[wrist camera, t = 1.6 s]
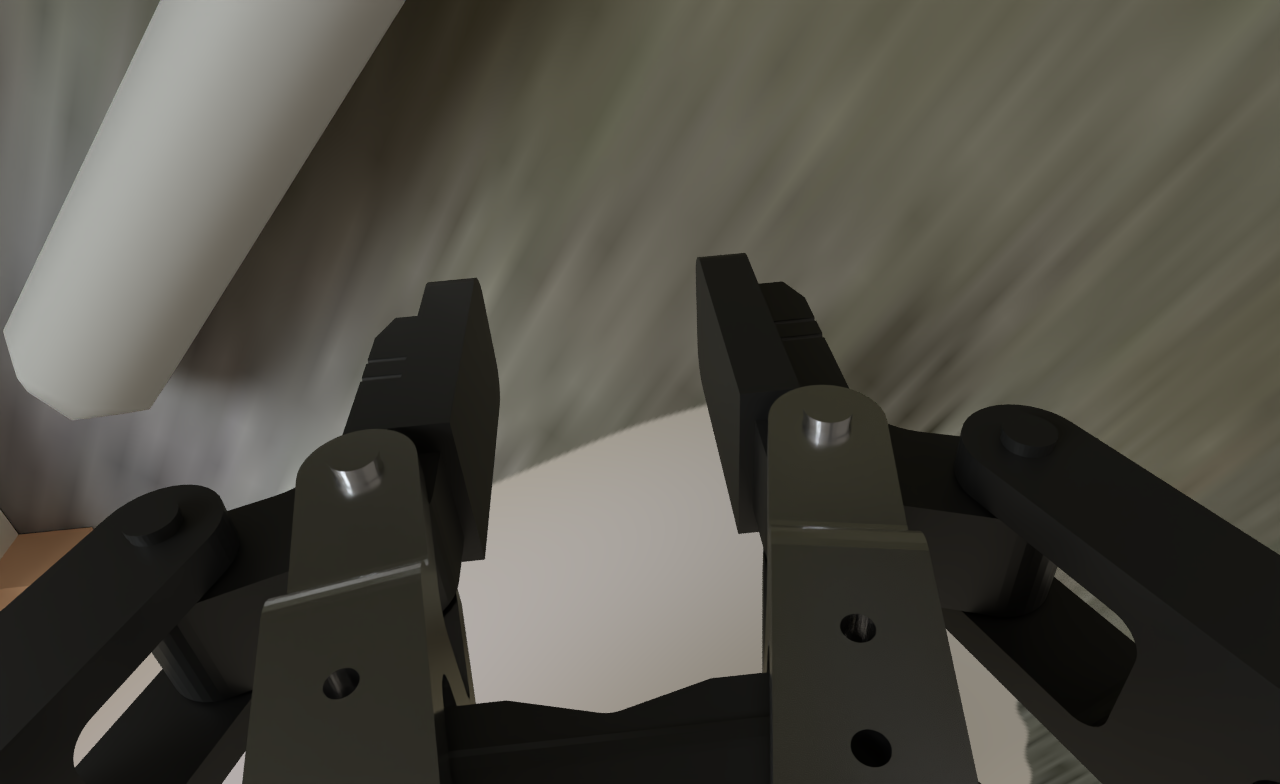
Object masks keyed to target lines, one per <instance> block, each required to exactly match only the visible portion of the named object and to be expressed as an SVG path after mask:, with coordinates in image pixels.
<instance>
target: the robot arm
mask: <svg viewBox="0 0 1280 784" xmlns="http://www.w3.org/2000/svg"><path fill="white" fill-rule="evenodd" d="M696 300H697V339H698V358H699V368H700V375H701V381H702V386H703V390H704V394H705V398H706V402H707V407H708V411H709V415H710V419H711V423H712V427H713V431H714V435H715V440H716V443H717V447H718V452H719V456H720V460H721V464H722V468H723V472H724V476H725V480H726V485H727V489H728V493H729V497H730V501H731V505H732V509H733V514H734V518H735V522H736V526H737V530H738V533H739V534H741V533H751V532H759V533H760V537H761V541H762V544H763V572H762V575H763V576H762V577H763V578H762V579H763V581H762V582H763V583H762V584H763V585H762V586H763V587H762V593H763V594H762V673H757V674H748V675H738V676H730V677H720V678H712V679H708V680H705V681H703V682H700V683H697V684H694V685H691V686H689V687H686V688H683V689H680V690H677V691H674V692H672V693H669V694H666V695H663V696H660V697H658V698H655V699H652V700H649V701H646V702H644V703H641V704H638V705H636V706H632V707H630V708H627V709H624V710H621V711H618V712H614V713H596V712H589V711H581V710H574V709H566V708H559V707H551V706H544V705H536V704H528V703H521V702H513V701H499V702H489V703H480V704H476V702H475V694H474V687H473V680H472V673H471V666H470V659H469V652H468V646H467V638H466V631H465V624H464V616H463V609H462V603H461V599H460V596H459V592H458V589H457V588H458V584H459V577H460V569H461V562H465V561H475V560H484V559H485V552H486V541H487V530H488V520H489V510H490V500H491V490H492V479H493V469H494V459H495V448H496V438H497V427H498V417H499V407H500V388H499V377H498V369H497V364H496V358H495V353H494V349H493V344H492V339H491V334H490V329H489V324H488V319H487V314H486V309H485V304H484V299H483V294H482V290H481V286H480V283H479V281H478V279H477V278H470V279H459V280H448V281H438V282H428V283H427V284H426V287H425V290H424V294H423V298H422V302H421V305H420V309H419V313H418V316H412V317H402V318H395V319H394V320H393V321H392V322H391V323H390V324H389V325H388V326H387V327H386V328H385V329H384V330H383V331H382V332H381V333H380V334H379V335H378V336H377V337H376V338H375V340H374V343H373V346H372V349H371V352H370V355H369V358H368V364H366V367H365V370H364V373H363V376H362V382H360V385H359V388H358V391H357V394H356V397H355V400H354V403H353V405H352V408H351V411H350V414H349V417H348V420H347V423H346V426H345V429H344V432H343V435H342V436H339V437H337V438H335V439H333V440H331V441H329V442H327V443H325V444H324V445H322V446H320V447H319V448H318V449H316V450H315V451H314V452H313V453H312V454H311V455H310V456H309V457H308V458H307V459H306V460H305V461H304V462H303V464H302V465H301V467H300V469H299V471H298V473H297V478H296V487H295V488H293V489H291V490H289V491H287V492H285V493H282V494H279V495H276V496H274V497H270V498H267V499H264V500H261V501H258V502H255V503H252V504H248V505H245V506H242V507H239V508H236V509H233V510H230V511H227V510H226V508H225V506H224V504H223V502H222V500H221V498H220V496H219V495H218V494H217V493H216V492H215V491H213V490H211V489H209V488H206V487H203V486H198V485H178V486H171V487H167V488H162V489H159V490H156V491H153V492H150V493H147V494H145V495H142V496H140V497H138V498H136V499H134V500H132V501H130V502H128V503H127V504H125V505H123V506H122V507H120V508H119V509H117V510H116V511H115V512H113V513H112V514H111V515H110V516H108V517H107V518H106V519H105V520H104V521H103V522H101V523H100V524H99V525H98V526H97V527H96V528H95V529H93V530H92V531H91V532H90V533H89V534H88V535H87V536H86V537H84V538H83V539H82V540H81V541H80V542H79V543H78V544H76V545H75V546H74V547H73V548H72V549H71V550H70V551H68V552H67V553H66V554H65V555H64V556H63V557H62V558H60V559H59V560H58V561H57V562H56V563H55V564H54V565H53V566H51V567H50V568H49V569H48V570H47V571H46V572H45V573H43V574H42V575H41V576H40V577H39V578H38V579H37V580H35V581H34V582H33V583H32V584H31V585H30V586H29V587H27V588H26V589H25V590H24V591H23V592H22V593H21V594H20V595H18V596H17V597H16V598H15V599H14V600H13V601H12V602H10V603H9V604H8V605H7V606H6V607H5V608H4V609H2V610H1V611H0V784H222V783H223V781H224V780H225V778H226V777H227V776H228V774H229V773H230V772H231V770H232V769H233V767H234V766H235V765H236V763H237V762H238V761H239V759H240V757H241V756H242V755H243V754H244V752H245V751H246V754H245V763H244V772H243V781H242V784H981V783H980V782H978V778H977V774H976V769H975V764H974V759H973V755H972V750H971V745H970V741H969V736H968V731H967V726H966V722H965V717H964V712H963V708H962V703H961V698H960V694H959V689H958V685H957V680H956V675H955V671H954V666H953V661H952V656H951V652H950V646H949V642H948V637H947V632H946V629H947V630H948V631H949V632H950V633H951V634H952V635H953V636H954V637H955V638H956V639H957V640H958V641H959V642H960V643H961V644H962V645H963V646H964V647H965V648H966V649H967V650H968V651H969V652H970V653H971V654H972V655H973V656H974V657H975V658H976V659H977V660H978V661H979V662H980V663H981V664H982V665H983V666H984V667H985V668H986V669H987V670H988V671H989V672H990V673H991V674H992V675H993V676H994V677H995V678H996V679H997V680H998V681H999V682H1000V683H1001V684H1002V685H1003V686H1004V687H1005V688H1007V690H1008V691H1009V692H1010V693H1011V694H1012V695H1013V696H1014V697H1015V698H1016V699H1017V700H1018V701H1019V702H1020V703H1021V704H1022V705H1023V706H1024V707H1025V708H1026V709H1027V710H1028V711H1030V712H1031V713H1032V714H1033V715H1034V716H1035V717H1036V718H1037V719H1038V720H1039V721H1040V722H1041V723H1042V724H1043V725H1044V726H1045V727H1046V728H1047V729H1048V730H1049V731H1050V732H1051V733H1052V734H1053V735H1054V736H1055V737H1056V738H1057V739H1058V740H1059V741H1060V742H1061V743H1062V744H1063V745H1064V746H1065V747H1066V748H1067V749H1068V750H1069V751H1070V752H1071V753H1072V754H1073V755H1074V756H1075V757H1076V758H1077V759H1078V760H1079V761H1080V762H1081V763H1082V764H1083V765H1084V766H1085V767H1086V768H1087V769H1088V770H1089V771H1090V772H1091V773H1092V774H1093V775H1094V776H1095V777H1096V778H1097V779H1098V780H1099V781H1100V782H1101V783H1102V784H1280V555H1279V554H1277V553H1276V552H1274V551H1272V550H1271V549H1269V548H1268V547H1266V546H1265V545H1263V544H1262V543H1260V542H1258V541H1257V540H1255V539H1254V538H1252V537H1251V536H1249V535H1247V534H1246V533H1244V532H1243V531H1241V530H1240V529H1238V528H1236V527H1235V526H1233V525H1232V524H1230V523H1229V522H1227V521H1225V520H1224V519H1222V518H1221V517H1219V516H1218V515H1216V514H1214V513H1213V512H1211V511H1210V510H1208V509H1207V508H1205V507H1204V506H1202V505H1200V504H1199V503H1197V502H1196V501H1194V500H1193V499H1191V498H1189V497H1188V496H1186V495H1185V494H1183V493H1182V492H1180V491H1178V490H1177V489H1175V488H1174V487H1172V486H1171V485H1169V484H1167V483H1166V482H1164V481H1163V480H1161V479H1160V478H1158V477H1157V476H1155V475H1153V474H1152V473H1150V472H1149V471H1147V470H1146V469H1144V468H1142V467H1141V466H1139V465H1138V464H1136V463H1135V462H1133V461H1131V460H1130V459H1128V458H1127V457H1125V456H1124V455H1122V454H1120V453H1119V452H1117V451H1116V450H1114V449H1113V448H1111V447H1109V446H1108V445H1106V444H1105V443H1103V442H1102V441H1100V440H1099V439H1097V438H1095V437H1094V436H1092V435H1091V434H1089V433H1088V432H1086V431H1084V430H1083V429H1081V428H1080V427H1078V426H1077V425H1075V424H1073V423H1072V422H1070V421H1068V420H1067V419H1065V418H1063V417H1061V416H1059V415H1057V414H1054V413H1052V412H1049V411H1046V410H1043V409H1040V408H1035V407H1031V406H1024V405H1009V404H1008V405H996V406H991V407H987V408H984V409H981V410H979V411H977V412H975V413H973V414H972V415H971V416H969V417H968V418H967V420H966V421H965V422H964V424H963V427H962V430H961V435H960V436H952V435H943V434H935V433H926V432H918V431H912V430H907V429H903V428H899V427H896V426H893V425H890V424H888V422H887V419H886V416H885V413H884V412H883V410H882V409H881V407H880V406H879V405H878V404H877V403H876V402H874V401H873V400H872V399H870V398H869V397H867V396H865V395H864V394H862V393H860V392H857V391H855V390H852V389H849V387H848V385H847V383H846V381H845V379H844V377H843V375H842V373H841V371H840V369H839V367H838V365H837V362H836V360H835V358H834V356H833V354H832V352H831V350H830V348H829V346H828V344H827V342H826V340H825V338H824V337H822V332H821V330H820V328H819V326H818V324H817V322H816V321H815V320H814V315H813V313H812V311H811V309H810V307H809V305H808V303H807V301H806V299H805V297H803V296H802V295H801V294H799V293H798V292H796V291H795V290H794V289H792V288H791V287H790V286H788V285H787V284H785V283H784V282H773V283H762V284H758V282H757V279H756V277H755V274H754V272H753V269H752V267H751V264H750V262H749V259H748V257H747V255H746V254H745V253H739V254H728V255H717V256H707V257H697V260H696ZM1057 566H1058V567H1059V568H1060V569H1061V570H1063V571H1064V572H1065V573H1066V574H1068V575H1069V576H1070V577H1071V578H1073V579H1074V580H1075V581H1076V582H1078V583H1079V584H1080V585H1081V586H1082V587H1084V588H1085V589H1086V590H1087V591H1089V592H1090V593H1091V594H1092V595H1094V596H1095V597H1096V598H1097V599H1099V600H1100V601H1101V602H1102V603H1104V604H1105V605H1106V606H1107V607H1109V608H1110V609H1111V610H1112V611H1113V612H1115V613H1116V614H1117V615H1118V616H1119V617H1120V618H1121V619H1122V620H1123V622H1124V623H1125V624H1126V626H1127V627H1128V628H1129V630H1130V632H1131V634H1132V636H1133V638H1134V640H1135V643H1134V642H1133V641H1132V640H1131V639H1129V638H1128V637H1127V636H1126V635H1124V634H1123V633H1122V632H1121V631H1120V630H1118V629H1117V628H1116V627H1115V626H1114V625H1112V624H1111V623H1110V622H1109V621H1107V620H1106V619H1105V618H1104V617H1103V616H1101V615H1100V614H1099V613H1098V612H1096V611H1095V610H1094V609H1093V608H1092V607H1090V606H1089V605H1088V604H1087V603H1085V602H1084V601H1083V600H1082V599H1081V598H1079V597H1078V596H1077V595H1076V594H1074V593H1073V592H1072V591H1071V590H1070V589H1068V588H1067V587H1066V586H1065V585H1063V584H1062V583H1061V582H1060V581H1059V580H1057V579H1056V578H1055V577H1054V575H1055V572H1056V569H1057ZM151 652H152V654H153V655H154V657H155V658H156V659H157V661H158V663H159V664H160V666H162V668H163V669H162V670H161V671H160V673H159V674H158V675H157V676H156V677H155V678H154V679H153V680H152V682H151V683H150V684H149V685H148V686H147V687H146V688H145V690H144V691H143V692H142V693H141V694H140V695H139V696H138V697H137V698H136V700H135V701H134V702H133V703H132V704H131V705H130V706H129V707H128V709H127V710H126V711H125V712H124V713H123V714H122V716H120V718H119V719H118V720H117V721H116V722H115V723H114V724H113V726H112V727H111V728H110V729H109V730H108V731H107V732H106V733H105V735H104V736H103V737H102V738H101V739H100V740H99V741H98V743H96V745H95V746H94V747H93V748H92V749H91V750H90V751H89V753H88V754H87V755H86V756H85V757H84V758H83V759H82V761H81V762H80V763H79V764H78V765H77V766H76V767H74V762H73V755H74V749H75V745H76V742H77V740H78V737H79V735H80V733H81V731H82V730H83V728H84V727H85V725H86V724H87V722H88V721H89V720H90V719H91V718H92V717H93V715H94V714H95V713H96V712H97V711H98V710H99V709H100V708H101V707H102V705H104V703H105V702H106V701H107V700H108V699H109V698H110V697H111V696H112V695H113V694H114V692H115V691H116V690H117V689H118V688H119V687H120V686H121V685H122V684H123V683H124V682H125V680H126V679H127V678H128V677H129V676H130V675H131V674H132V673H133V672H134V671H135V670H136V668H137V667H138V666H139V665H140V664H141V663H142V662H143V661H144V660H145V659H146V658H147V657H148V655H149V654H150V653H151Z"/></svg>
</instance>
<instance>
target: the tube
mask: <svg viewBox="0 0 1280 784" xmlns="http://www.w3.org/2000/svg"><path fill="white" fill-rule="evenodd" d="M405 1H406V0H160V2H159V4H158V6H157V9H156V11H155V13H154V15H153V17H152V19H151V21H150V23H149V25H148V27H147V30H146V32H145V34H144V36H143V38H142V40H141V42H140V44H139V46H138V49H137V51H136V53H135V55H134V57H133V59H132V61H131V63H130V65H129V67H128V70H127V72H126V74H125V76H124V78H123V80H122V82H121V84H120V86H119V88H118V91H117V93H116V95H115V97H114V99H113V101H112V103H111V105H110V107H109V109H108V112H107V114H106V116H105V118H104V120H103V122H102V124H101V126H100V128H99V130H98V133H97V135H96V137H95V139H94V141H93V143H92V145H91V147H90V149H89V151H88V154H87V156H86V158H85V160H84V162H83V164H82V166H81V168H80V170H79V172H78V175H77V177H76V179H75V181H74V183H73V185H72V187H71V189H70V191H69V193H68V196H67V198H66V200H65V202H64V204H63V206H62V208H61V210H60V212H59V214H58V217H57V219H56V221H55V223H54V225H53V227H52V229H51V231H50V233H49V236H48V238H47V240H46V242H45V244H44V246H43V248H42V250H41V252H40V254H39V257H38V259H37V261H36V263H35V265H34V267H33V269H32V271H31V273H30V275H29V278H28V280H27V282H26V284H25V286H24V288H23V290H22V292H21V294H20V296H19V299H18V301H17V303H16V305H15V307H14V309H13V311H12V313H11V315H10V317H9V320H8V322H7V324H6V326H5V328H4V330H3V333H4V336H5V340H6V343H7V346H8V350H9V353H10V357H11V360H12V364H13V367H14V370H15V373H16V376H17V379H18V380H19V381H20V383H21V384H22V385H23V387H24V388H25V389H26V391H27V392H28V393H30V394H32V395H33V396H35V397H36V398H38V399H39V400H41V401H42V402H44V403H45V404H47V405H48V406H50V407H52V408H53V409H55V410H56V411H58V412H59V413H61V414H62V415H64V416H65V417H67V418H69V419H70V420H79V419H87V418H94V417H102V416H110V415H117V414H125V413H130V412H136V411H142V410H148V409H150V408H151V406H152V405H153V403H154V402H155V400H156V399H157V397H158V396H159V394H160V393H161V391H162V389H163V388H164V386H165V385H166V383H167V382H168V380H169V379H170V377H171V376H172V374H173V373H174V371H175V369H176V368H177V366H178V365H179V363H180V361H181V360H182V358H183V357H184V355H185V353H186V352H187V350H188V349H189V347H190V345H191V344H192V342H193V341H194V339H195V337H196V336H197V334H198V333H199V331H200V329H201V328H202V326H203V325H204V323H205V321H206V320H207V318H208V317H209V315H210V313H211V312H212V310H213V309H214V307H215V305H216V304H217V302H218V301H219V299H220V297H221V296H222V294H223V293H224V291H225V289H226V288H227V286H228V284H229V283H230V281H231V280H232V278H233V276H234V275H235V273H236V272H237V270H238V268H239V267H240V265H241V264H242V262H243V260H244V259H245V257H246V256H247V254H248V252H249V251H250V249H251V248H252V246H253V244H254V243H255V241H256V240H257V238H258V236H259V235H260V233H261V232H262V230H263V228H264V227H265V225H266V224H267V222H268V220H269V219H270V217H271V216H272V214H273V212H274V211H275V209H276V208H277V206H278V204H279V203H280V201H281V200H282V198H283V196H284V195H285V193H286V192H287V190H288V188H289V187H290V185H291V184H292V182H293V180H294V179H295V177H296V176H297V174H298V172H299V171H300V169H301V168H302V166H303V164H304V163H305V161H306V160H307V158H308V156H309V155H310V153H311V151H312V150H313V148H314V147H315V145H316V143H317V142H318V140H319V139H320V137H321V135H322V134H323V132H324V131H325V129H326V127H327V126H328V124H329V123H330V121H331V119H332V118H333V116H334V115H335V113H336V111H337V110H338V108H339V107H340V105H341V103H342V102H343V100H344V99H345V97H346V95H347V94H348V92H349V91H350V89H351V87H352V86H353V84H354V83H355V81H356V79H357V78H358V76H359V75H360V73H361V71H362V70H363V68H364V67H365V65H366V63H367V62H368V60H369V59H370V57H371V55H372V54H373V52H374V51H375V49H376V47H377V46H378V44H379V43H380V41H381V39H382V38H383V36H384V35H385V33H386V31H387V30H388V28H389V27H390V25H391V23H392V22H393V20H394V18H395V17H396V15H397V14H398V12H399V10H400V9H401V7H402V6H403V4H404V2H405Z"/></svg>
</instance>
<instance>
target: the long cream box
mask: <svg viewBox="0 0 1280 784" xmlns="http://www.w3.org/2000/svg"><path fill="white" fill-rule="evenodd" d="M92 530H93V528H92V527H89V528H79V529H69V530H59V531H50V532H40V533H30V534H20V535H18V533H17V532H16V530H15V529H14V528H13V526H12V525H11V524H10V522H9V521H8V519H7V518H6V517H5V515H4V514H3V513H2V511H1V510H0V611H1V610H2V609H4V608H5V607H6V606H7V605H8V604H9V603H10V602H12V601H13V600H14V599H15V598H16V597H17V596H18V595H20V594H21V593H22V592H23V591H24V590H25V589H26V588H27V587H29V586H30V585H31V584H32V583H33V582H34V581H35V580H37V579H38V578H39V577H40V576H41V575H42V574H43V573H45V572H46V571H47V570H48V569H49V568H50V567H51V566H53V565H54V564H55V563H56V562H57V561H58V560H59V559H60V558H62V557H63V556H64V555H65V554H66V553H67V552H68V551H70V550H71V549H72V548H73V547H74V546H75V545H76V544H78V543H79V542H80V541H81V540H82V539H83V538H84V537H86V536H87V535H88V534H89V533H90V532H91V531H92Z"/></svg>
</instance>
